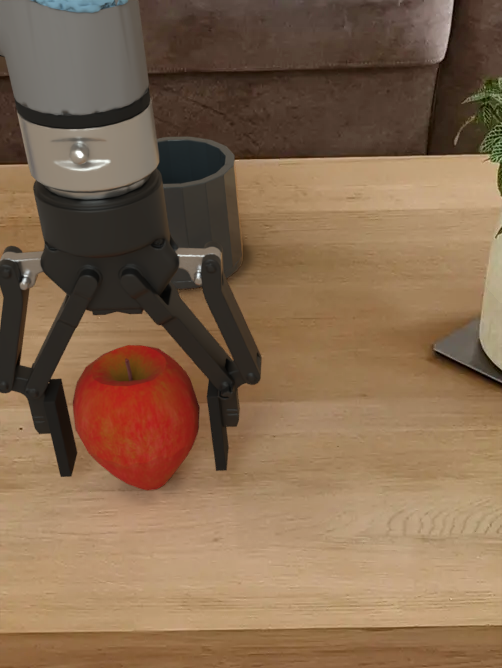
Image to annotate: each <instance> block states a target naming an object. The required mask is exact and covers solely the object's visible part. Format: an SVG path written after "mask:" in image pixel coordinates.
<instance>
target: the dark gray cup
mask: <svg viewBox="0 0 502 668" xmlns="http://www.w3.org/2000/svg"><path fill="white" fill-rule="evenodd" d="M157 144H158V151H159V164H158V166H157V169H158V170H159V171H160V173H161V176H162V182H163V189H164V197H165V204H166V211H167V219H168V226H169V232H170V234H171V236H172V238H173V240H174V241H175V242H176V244H177V245H178V247H179V248H202V249H204V246H205V244H206V243H208V242H209V241H215V242H218V243H219V244H220V245H221V246H222V249H223V271H224V274H225V277H226V279H227V278H230V277H231V276H232V275H234V274H235V273H236V272H237V271H238V270H239V269H240V268H241V266H242V264H243V261H244V242H243V233H242V232H243V231H242V230H243V229H242V220H241V209H240V199H239V198H240V197H239V187H238V179H237V178H238V176H237V165H236V156H235V154H234V153H233V152H232V150H231V149H230V148H229V147H228V146H227V145H225V144H222V143H220V142H217V141H215V140H213V139H209V138H208V139H207V138H203V137H202V138H201V137H194V136H164V137H159V138H158V137H157ZM170 281H171V282H172V284H173V285H174V286H175V287H176V289H177V290H187V289H198V288H202V285H196V284H195V283H194V282H193V281H192V280H191V278H190V275H189V273H188V272H187V271H186V270H184V269H180V268H178V270H177V272H176V273H175V275H174V276H173V277H172V279H171V280H170Z"/></svg>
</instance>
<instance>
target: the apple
mask: <svg viewBox="0 0 502 668" xmlns="http://www.w3.org/2000/svg"><path fill="white" fill-rule="evenodd" d="M200 409H201V408H200V403H199V400H198V399H197V395H196V392H195V389H194V385H193V382H192V380H191V377H190V375H189V374H188V373H187V371H186V370H185V369H184V368H183V367H182V365H180V363H179V362H178V361H177V360H176V359H174V358H173V357H172V356H170V355H169V354H167V353H166V352H164V351H163V350H161V349H160V348H158V347H153V346H148V345H143V344H142V345H141V344H127V345H124V346H123V345H122V346H120V347H117V348H115V349H112V350H109V351H107V352H105V353H102V354H101V355H100V356H99V357H97V358H95V360H93V361H91V363H89V364H88V365H86V366H85V367H84V369H83V371H82V373H81V374H80V376H79V378H78V379H77V381H76V385H75V388H74V395H73V399H72V413H73V422H74V429H75V432H76V434H77V435H78V437H79V439H80V441H81V443H82V444H83V446H84V448H85V450H86V452H87V453H88V454H89V456H91V457H92V459H93V460H95V461H96V463H97V464H98V465H100V466H101V467H102V468H104V469H105V470H106V471H107V472H108V473H110V475H112V476H113V477H115V478H117V479H118V480H120V481H122V482H123V483H125V484H127V485H129V486H132V487H134V488H137V489H140V490H145V491H155V490H159V489H160V488H161V487H163V486H165V485H166V484H167V482H168V481H169V480H170V479H171V478H172V477H173V476H174V474H176V472H177V471H178V469H179V468H180V466H181V465H182V464H183V462H184V461H185V460H186V459H187V457H188V455H189V454H190V452H191V451H192V449H193V447H194V445H195V441H196V439H197V437H198V434H199V429H200Z"/></svg>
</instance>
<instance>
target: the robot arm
mask: <svg viewBox="0 0 502 668" xmlns="http://www.w3.org/2000/svg"><path fill="white" fill-rule="evenodd" d="M141 17H142V16H141V8H140V1H139V0H0V57H2V58H4V59H5V64H6V68H7V72H8V76H9V81H10V85H11V89H12V93H13V98H14V105H15V109H16V114H17V119H18V123H19V128H20V132H21V138H22V142H23V147H24V151H25V156H26V161H27V165H28V169H29V173H30V176H31V177H32V178H33V179H34V180H35V181H34V182H33V186H32V190H33V191H32V192H33V197H34V200H35V205H36V211H37V214H38V219H39V224H40V229H41V233H42V238H43V241H44V242H43V243H44V244H43V245H44V246H43V250H39V251H27V252H23V250H22V249H21V248H20V247H18V246H15V245H8V246H7V247H5V248H4V250H3V252H2V255H1V257H0V290H1V294H2V297H3V298H2V306H1V317H0V394H9V393H11V392H14V393H19V394H20V395H23V397H25V398H26V400H27V403H28V407H29V410H30V414H31V420H32V424H33V427H34V430H35V431H36V432H37V434H39V435H49V434H50V438H51V442H52V447H53V450H54V454H55V455H54V456H55V459H56V463H57V469H58V471H59V475H60V476H59V477H60V478H69V477H70V478H71V477H72V476H73V472H74V468H75V464H76V461H77V457H78V449H77V445H76V440H75V434H74V431H73V426H72V425H73V424H72V420H71V416H70V412H69V408H68V403H67V399H66V393H65V389H64V384H63V380H62V378H52V377H53V375H54V373H55V371H56V370H57V367H58V365H59V363H60V361H61V360H62V359H61V358H63V355H64V353H65V351H66V349H67V347H68V345H69V343H70V341H71V339H72V337H73V335H74V333H75V330H77V328H78V327H79V324H80V322H81V321H82V318H83V316H84V315H85V312H86V311H88V312H92V316H106V315H110V314H114V313H123V314H126V315H127V314H128V315H143V311H144V312H145V313H146V314H147V315H148V316H149V318H150V319H151V320H152V322H153V323H154V324H156V325H158V326H161V327H163V329H164V330H165V331H166V332H167V333H168V335H169V336H170V337H171V338H172V339H173V340H174V341H175V343H176V344H177V345H178V346H179V347H180V348H181V349H182V351H183V352H184V353H185V354H186V356H187V357H189V358H190V360H191V361H192V362H193V363H194V364H195V366H196V367H197V368H198V369H199V370H200V372H201V373H202V374H203V375H204V376H205V377H206V379H208V382H207V392H206V402H207V411H208V418H209V427H210V434H211V443H212V450H213V458H214V459H213V460H214V464H215V471H216V472H221V471H222V472H223V471H225V472H226V471H227V470H228V459H229V438H228V429H227V428H233V427H235V428H236V427H238V424H239V422H240V415H241V413H240V411H241V406H240V397H239V387H241V386H243V385H245V384H247V385H250V386H255V385H257V384H259V383H260V381H261V378H262V363H263V362H262V361H263V360H262V354H261V352H260V349H259V347H258V345H257V343H256V341H255V338H254V336H253V335H252V332H251V330H250V327H249V325H248V323H247V321H246V319H245V316H244V314H243V312H242V309H241V308H240V305H239V304H238V301H237V299H236V297H235V294H234V292H233V290H232V288H231V286H230V283H229V281H228V279H227V278H226V277H225V274H224V271H223V249H222V246H221V245H220V244H219V243H218V242H215V241H209V242H208V243H206V244H205V246H204V249H202V248H179V247H178V245H177V244H176V242H175V241H174V240H173V238H172V236H171V234H170V232H169V226H168V219H167V211H166V204H165V197H164V189H163V182H162V176H161V173H160V171H159V170H158V169H157V166H158V164H159V151H158V144H157V139H158V136H157V130H156V129H157V128H156V122H155V114H154V107H153V100H152V97H151V93H150V81H149V74H148V65H147V58H146V49H145V41H144V34H143V27H142V18H141ZM178 268H180V269H184V270H186V271H187V272H188V273H189V275H190V278H191V280H192V281H193V282H194V283H195V284H196V285H202V287H201V289H202V294H203V297H204V300H205V302H206V304H207V307H208V309H209V311H210V313H211V315H212V317H213V319H214V321H215V323H216V326H217V328H218V330H219V332H220V335H221V336H222V338H223V340H224V343H225V345H226V347H227V350H228V351H229V353H230V355H231V357H232V358H231V357H230V355H229V353H227V351H225V349H224V347H222V346H221V344H220V343H219V342H218V341H217V339H216V338H215V337H214V336H213V335H212V333H211V332H209V330H208V329H207V328H206V327H205V325H204V324H203V323H202V322H201V321H200V319H199V318H198V317H197V316H196V314H194V312H193V311H192V309H190V308H189V306H188V305H187V303H186V302H185V301H184V300H183V299H182V298H181V296H180V293H179V289H176V287H175V286H174V285H173V284H172V282H171V281H170V280H171V279H172V277H173V276H174V275H175V273H176V272H177V270H178ZM41 273H44V275H45V276H47V278H49V280H50V281H52V282H53V283H54V284H55V285H56V286H57V287H58V288H59V289H61V290H62V291H63V292H64V293H65V295H64V296H65V297H64V298H63V301H62V304H61V306H60V308H59V309H58V311H57V313H56V316H55V318H54V320H53V322H52V324H51V327H50V329H49V331H48V333H47V334H46V336H45V338H44V341H43V343H42V345H41V347H40V349H39V352H38V353H37V355H36V358H35V359H34V362H32V364H31V366H30V367H29V366H26V365H22V364H21V362H22V353H23V345H24V337H25V329H26V320H27V313H28V304H29V299H30V298H29V297H30V289H31V288H33V287H34V286H35V285H36V283H37V280H38V278H39V274H41Z"/></svg>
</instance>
